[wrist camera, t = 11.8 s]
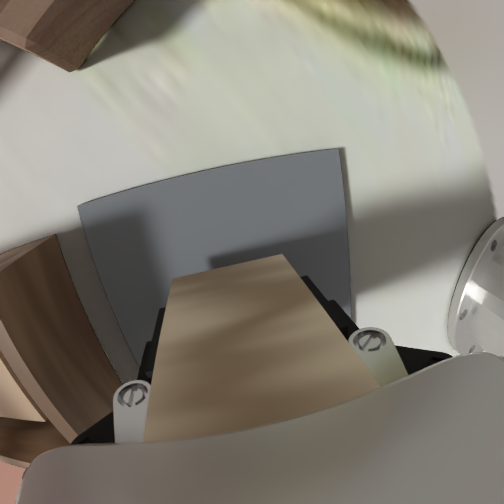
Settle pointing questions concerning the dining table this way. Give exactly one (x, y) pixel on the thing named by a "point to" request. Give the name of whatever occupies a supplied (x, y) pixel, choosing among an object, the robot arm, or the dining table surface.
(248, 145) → the dining table surface
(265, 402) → the maple block
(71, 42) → the decorative block
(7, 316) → the walnut box
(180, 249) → the mat
